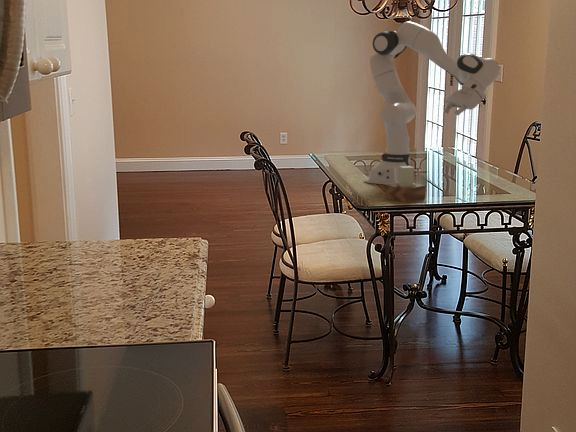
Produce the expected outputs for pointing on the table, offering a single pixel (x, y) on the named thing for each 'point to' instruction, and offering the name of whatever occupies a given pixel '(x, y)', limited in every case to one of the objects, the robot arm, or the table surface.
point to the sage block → (406, 176)
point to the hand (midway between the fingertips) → (450, 113)
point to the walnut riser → (405, 192)
